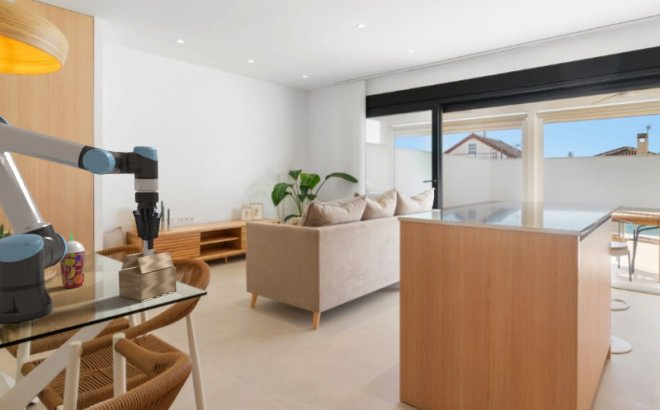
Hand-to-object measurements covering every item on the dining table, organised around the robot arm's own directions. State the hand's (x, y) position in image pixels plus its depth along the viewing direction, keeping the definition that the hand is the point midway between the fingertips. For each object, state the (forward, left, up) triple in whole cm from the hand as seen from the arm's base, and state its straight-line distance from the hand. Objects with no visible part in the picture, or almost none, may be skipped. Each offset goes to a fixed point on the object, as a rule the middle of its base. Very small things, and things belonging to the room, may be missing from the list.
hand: (148, 258), depth 138 cm
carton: (0, 0, -13) cm, 13 cm away
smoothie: (-8, +32, -13) cm, 36 cm away
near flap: (0, -5, -4) cm, 7 cm away
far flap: (0, +6, -4) cm, 7 cm away
